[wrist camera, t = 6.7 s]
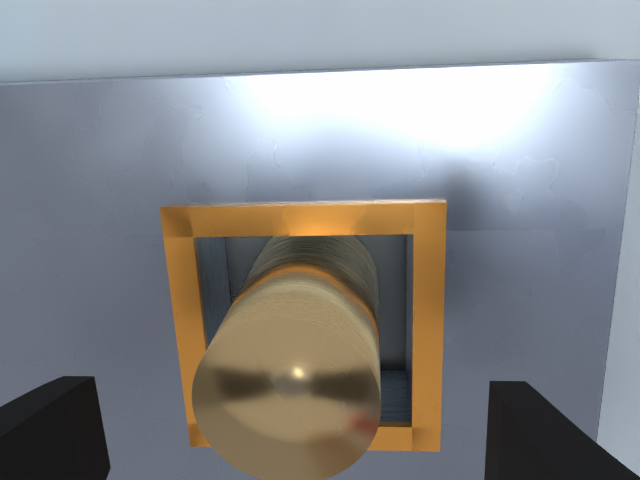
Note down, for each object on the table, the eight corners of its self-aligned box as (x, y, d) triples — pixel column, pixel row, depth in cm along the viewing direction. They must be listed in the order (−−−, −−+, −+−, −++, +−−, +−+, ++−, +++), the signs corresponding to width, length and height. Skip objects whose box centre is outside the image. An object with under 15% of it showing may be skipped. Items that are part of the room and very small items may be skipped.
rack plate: (555, 473, 18) (587, 546, 15) (-35, 459, 19) (-96, 522, 17) (597, 58, 14) (648, 59, 11) (-136, 87, 16) (-234, 95, 13)
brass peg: (372, 343, 17) (372, 493, 11) (253, 332, 17) (192, 474, 11) (383, 227, 16) (389, 328, 10) (255, 217, 16) (190, 310, 10)
